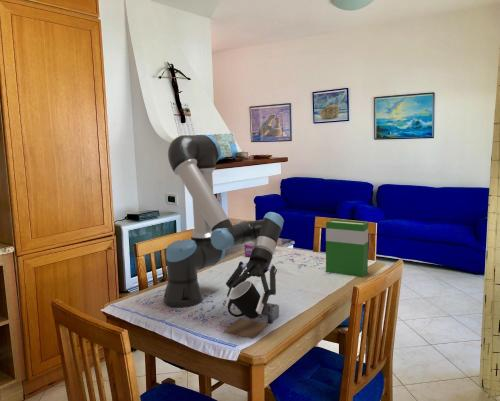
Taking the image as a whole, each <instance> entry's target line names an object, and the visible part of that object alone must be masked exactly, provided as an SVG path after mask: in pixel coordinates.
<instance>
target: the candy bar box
mask: <svg viewBox="0 0 500 401" xmlns="http://www.w3.org/2000/svg"><path fill="white" fill-rule="evenodd" d="M254 244H255V241H249V242H246V243H244V257H245V258H250V255H251V252H252V250H253V247H254Z"/></svg>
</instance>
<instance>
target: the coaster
mask: <svg viewBox="0 0 500 401" xmlns="http://www.w3.org/2000/svg"><path fill="white" fill-rule="evenodd" d="M268 326H269V323H268V322H263V321H257V320H254V319H249V318H248V319H246V318H243V317H239V318H238V319H237V320H235V321H234V322H233V323H231V324H230V325H229V326H227V328H225V329H224V330H223V332H224V333H226V334H227V333H228V334H232V335H236V336H241V337H244V338H250V339H254V338H256V337H257V336H258V335H260V333H261V332H262V331H264V330H265V329H266V328H267V327H268Z"/></svg>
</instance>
